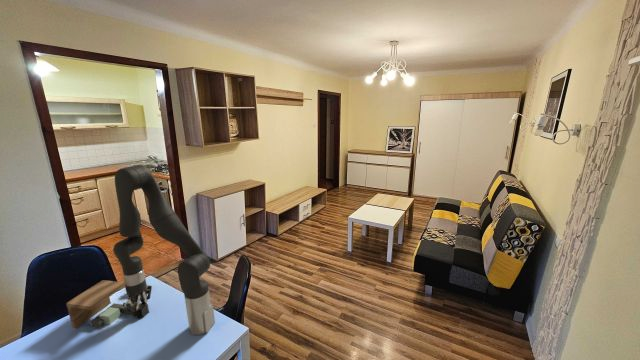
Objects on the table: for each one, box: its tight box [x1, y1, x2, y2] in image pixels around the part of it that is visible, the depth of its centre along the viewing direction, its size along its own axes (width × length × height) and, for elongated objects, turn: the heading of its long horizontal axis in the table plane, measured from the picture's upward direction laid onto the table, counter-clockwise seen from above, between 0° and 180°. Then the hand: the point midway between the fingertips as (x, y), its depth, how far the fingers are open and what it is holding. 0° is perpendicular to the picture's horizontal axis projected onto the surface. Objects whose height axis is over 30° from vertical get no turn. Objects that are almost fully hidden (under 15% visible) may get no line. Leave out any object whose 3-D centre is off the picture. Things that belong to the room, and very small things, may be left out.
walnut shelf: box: [65, 279, 125, 330], centre depth 117 cm, size 12×16×12 cm
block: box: [98, 306, 122, 325], centre depth 117 cm, size 5×5×4 cm
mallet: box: [90, 302, 150, 329], centre depth 117 cm, size 18×12×4 cm
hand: (141, 313), depth 120 cm, fingers closed on mallet, 3 cm apart
